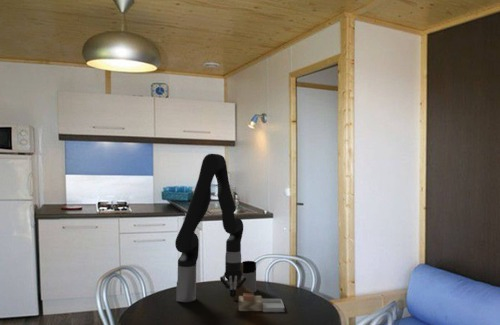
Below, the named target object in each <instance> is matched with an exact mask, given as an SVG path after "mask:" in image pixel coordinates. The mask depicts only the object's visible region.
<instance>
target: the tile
mask: <svg viewBox="0 0 500 325" xmlns="http://www.w3.org/2000/svg"><path fill="white" fill-rule="evenodd" d="M254 293H255V292H254ZM254 293H243V301H254V296H255V294H254Z"/></svg>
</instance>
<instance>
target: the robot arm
mask: <svg viewBox="0 0 500 325" xmlns="http://www.w3.org/2000/svg"><path fill="white" fill-rule="evenodd" d="M214 177H215V179H216V182H217V200H218V205H219V206H220V210H221V217H222V227H223V229H224V231H225V232H226V233H227V234H229V237H228V238H227V239H226V242H225V255H224V256H225V260H224V261H225V263H224V264H225V267H224V268H225V271H224V273H223V275H222V276H220V277H219V280H220V282H221V283H222V284H223V286H225V288H226V289H229V296H230V297H231V298H235V296H236V289H238V288H240V287H241V286H242V284H243V283H244V282H245V281H246V277H244V276H243V275H242V272H241V263H242V244H241V243H242V238H243V233H244V222H243V220H242V219H241V218H240V217H235V212H236V210H237V207H236V204H235V200H234V197H233V194H232V189H231V186H230V181H229V180H230V179H229V175H228V167H227V161H226V158H225V157H224V156H223V155H221V154H218V153H208V154H206V155H204V157H203V159H202V162H201V165H200V170H199V175H198V179H197V182H196V184H195V187H194V190H193V194H192V196H191V198H190V202H189V205H188V208H187V211H186V214H185V217H184V220H183V223H182V225H181V227H180V230H179V232H178V233H177V236H176V238H175V241H174V242H175V243H174V244H175V248H176V250H177V251H178V252H179V253H180V254H181V255H180V256H179V258H178V260H177V280H176V295H175V296H176V300H175V301H176V302H179V303H191V302H194V301H196V299H197V297H196V296H197V261H198V258H199V251H200V250H199V246H200V240H199V237H198V235H197V234H196V233H195V232H196V229H197V228H198V226H199V224H200V223H201V221H202V220H203V219H204V217H205V216H206V214H207V212H208V209H209V206H210V203H211V199H212V184H213V183H212V182H213V179H214ZM240 278H241V281H240V282H239V284H238V285H237V282H238V281H239V279H240ZM226 280H227V281H228V282H227V281H226ZM228 283H229V284H228Z"/></svg>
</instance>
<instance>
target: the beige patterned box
mask: <svg viewBox="0 0 500 325" xmlns="http://www.w3.org/2000/svg"><path fill="white" fill-rule="evenodd" d="M262 299H263V297H262V295H254V301H243V296H239V301H238V312H263V301H262Z"/></svg>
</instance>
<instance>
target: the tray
mask: <svg viewBox="0 0 500 325" xmlns="http://www.w3.org/2000/svg"><path fill="white" fill-rule="evenodd" d="M262 301H263V311H262V312H263V313H285V311H286V310H285V304H284V302H283V299H282V298H262Z"/></svg>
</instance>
